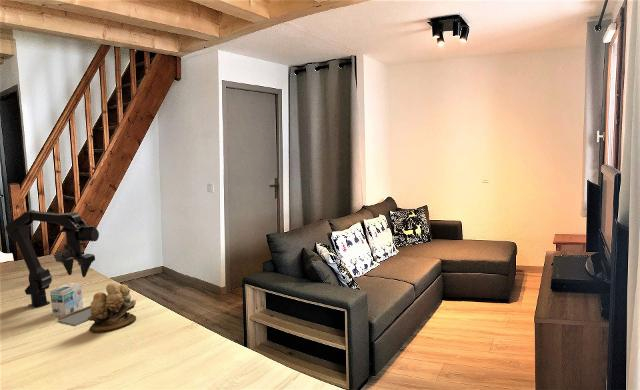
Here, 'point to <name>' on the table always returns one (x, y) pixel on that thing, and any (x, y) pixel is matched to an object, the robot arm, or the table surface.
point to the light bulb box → (66, 299)
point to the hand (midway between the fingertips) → (76, 275)
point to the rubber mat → (77, 318)
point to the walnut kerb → (74, 312)
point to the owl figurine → (111, 309)
